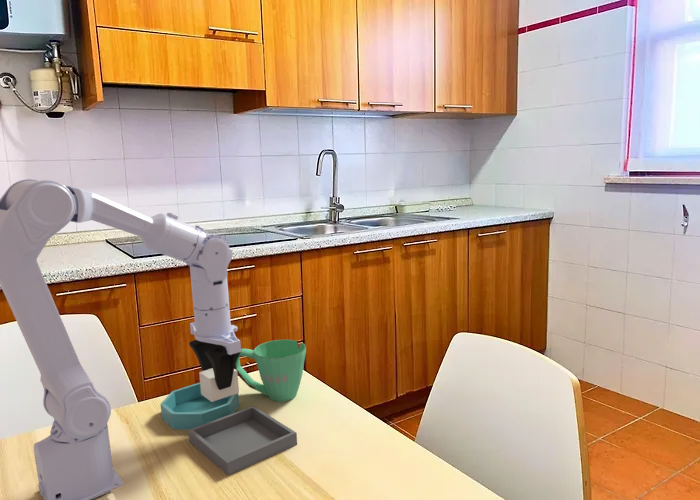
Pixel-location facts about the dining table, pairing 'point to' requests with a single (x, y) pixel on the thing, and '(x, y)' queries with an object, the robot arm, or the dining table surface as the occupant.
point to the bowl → (195, 408)
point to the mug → (276, 368)
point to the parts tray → (242, 439)
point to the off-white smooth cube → (211, 389)
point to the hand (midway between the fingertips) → (218, 383)
